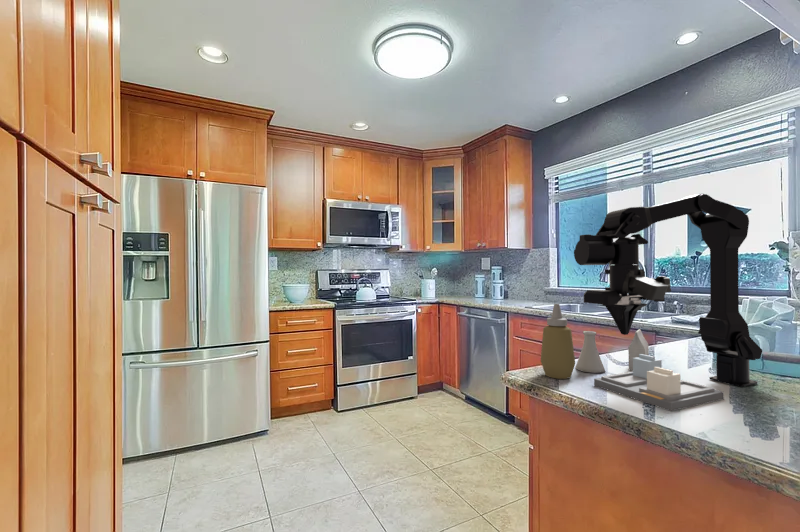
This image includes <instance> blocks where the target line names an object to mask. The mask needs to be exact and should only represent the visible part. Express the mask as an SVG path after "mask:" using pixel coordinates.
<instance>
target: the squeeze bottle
mask: <svg viewBox="0 0 800 532" xmlns="http://www.w3.org/2000/svg"><path fill="white" fill-rule="evenodd" d="M546 324H547V326H545V327H543V328H542V329H543V330H542V339H541V351H540V363H541V366H542V369H543V372H544V374H545V376H547V377H549V378H551V379H559V380H564V379H566V380H567V379H570V378H571V377H572V374H573V371H574V368H575V367H576V359H575V358H576V357H575V349H574V340H573V333H572V328H569V326H568V319H567V318H565V317H563V314H562V310H561V305H560V303H554V304H553V308H552V312H551V316H550V317H547V318H546Z"/></svg>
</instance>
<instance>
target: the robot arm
mask: <svg viewBox="0 0 800 532" xmlns="http://www.w3.org/2000/svg"><path fill="white" fill-rule="evenodd" d="M686 215H687V216H688V219H689V220H690V222H691V224H693V225H694V226H695V227H697V228H698V229H700V233H701V239H702V241H703V242H704V243H705V244H706V246H707V247H708V249H709V256H710V257H709V263H710V264H709V266H710V268H709V269H710V271H709V278H710V281H709V282H710V284H709V288H710V289H709V290H710V294H709V295H710V296H709V297H710V309H709V311H708V313H707V315H706V316H705V317H703V316H700V317H699V320H698V324H699V329H698V333H697V334H698V335H700V339H701V341H702V342H703V344H704V347H705V349H706V351H707V352H709V353H715V354H716V355H715V356H716V358H715V359H716V375H714V376H713V375H712V376H708V377H709V379H708V380H711V381H715V382H720V383H724V384H728V385H732V386H736V387H740V388H743V387H747V386H752V385H758V381H757V380H753V379H750V361H757V360H760V359H761V357H762V355H763V349H762V348H761V347H760V346H759V345H758V343H756V341H754V340H753V339H752V338H751V336H750V331H749V330H750V329H749V325H748V323H747V321H746V320H745V318H744V317H743V316H742V314H741V313H740V308H739V307H740V306H739V303H740V301H739V295H740V294H739V249H740V247H741V246H742V244H743V243H744V242H745V240H746V239H747V237H748V233H749V226H750V219H749V216H748V214H746V213H745V212H744V211H743V210H741V209H739V208H737V207H736V206H734V205H732V204H731V203H726V202H724V201H720V200H717V199H715V198H713V197H711V196H710V195H709V194H707V193H706V194H705V193H698V194H693V195H688V196H685V197H683V198H681V199H675V200H673V201H669V202H665V203H661V204H657V205H652V206H633V207H632V206H631V207H626V208H622V209H618V210H613V211H610V212H608V213H607V214H606V215H605V217H604V222H603V223H602V226H601V227H600V228H599V230H598V231H597V232H596V234H585V233H584V234H580V235H579V240H578V242H577V243H576V244H575V248H574V250H573V256H574V260H575V262H576V264H578V266H579V265H580V266H606V265H608V264H609V266H608V267H609V269H604V274H605V275H608V276H609V286H608V287H607V286H606V287H605V288H604V289H587V290H585V292H584V293H583V303H585V304H596V305H602V306H604V307H605V308H606V309H607V311H608V313H609V315H610V316H611V317H612V320H613V321H614V322H615V325H616V327H617V328H618V331H619V333H620V335H623V336H626V335H627V336H628V335H629V334H630V331H631V328H632V324H633V323H634V319H635V318H636V315H637V313H638V311H640V310H641V309H642V308H643V307H646V306H647V305H648V303H643V302H642V300H645V301H653V302H656V303H657V302H658V303H659V302H665V296H666V294H667V293H670V292H672V289H671V279H670V278H669V277H667V276H664V275H661V276H660V275H659V276H656V277H655V278H653V277H652V278H651V277H647V276H646V271H645V270H644V269H642V268H641V269H640V265H639V264H640V261H639V259H640V258H639V256H640V253H639V249H640V248H639V245H647V244H649V241H648V239H646V238H645V237H643V236H642V235H641V233H640V232H641V231H643V230H646V229H648V228H650V227H651V226H652V225H654V224H656V223H658V222H662V221H663V222H664V221H667V220H670V219H674V218H677V217H678V218H679V217H682V216H686ZM629 235H631V236H630V237H628V236H629ZM615 239H616V240H615ZM614 240H615V241H614Z"/></svg>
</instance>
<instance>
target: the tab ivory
mask: <svg viewBox="0 0 800 532" xmlns="http://www.w3.org/2000/svg"><path fill="white" fill-rule="evenodd" d="M680 380H681V373H677V372H674V370H671V369H667V368H663V367H662V368H660V367H654V370H652V371H647V389H648V390H652V391H655V392H658V393H662V394H665V395H668V396H669V395H674V394H679V393H681V383H680Z"/></svg>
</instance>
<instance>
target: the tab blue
mask: <svg viewBox="0 0 800 532" xmlns="http://www.w3.org/2000/svg"><path fill="white" fill-rule="evenodd" d="M662 363H663V362H662V359H659V358H656V357H655V356H652V355H644V354H639V357H636V358H633V370H632V372H633V375H634V376H638V377H642V378H645V379H647V371H652V370H654V367H660V368H663V365H662Z"/></svg>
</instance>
